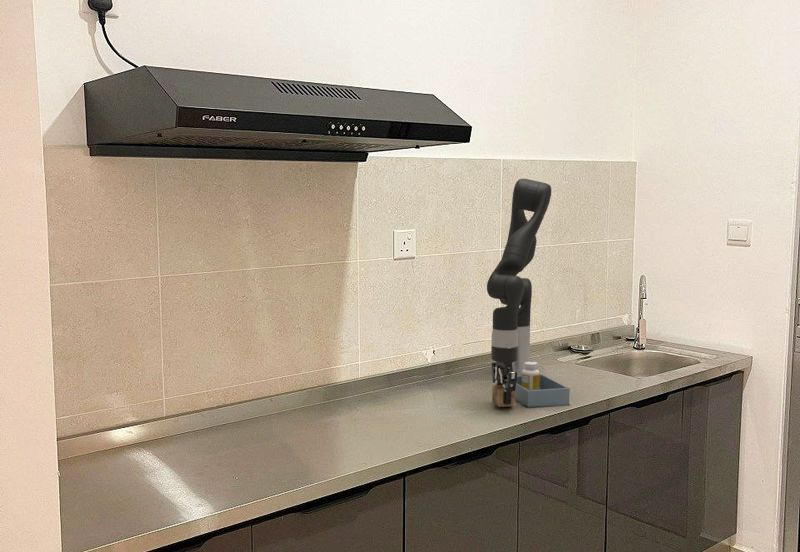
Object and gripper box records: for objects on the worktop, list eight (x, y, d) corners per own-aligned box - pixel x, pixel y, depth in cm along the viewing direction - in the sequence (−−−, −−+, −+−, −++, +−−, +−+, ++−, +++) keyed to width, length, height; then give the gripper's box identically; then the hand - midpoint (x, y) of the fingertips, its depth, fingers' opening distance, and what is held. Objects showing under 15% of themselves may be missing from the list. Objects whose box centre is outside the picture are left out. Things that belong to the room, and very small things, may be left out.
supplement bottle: (538, 391, 238) (539, 361, 237) (539, 396, 233) (540, 365, 232) (521, 391, 239) (521, 360, 238) (521, 395, 234) (522, 364, 232)
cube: (492, 402, 224) (492, 385, 224) (508, 401, 226) (508, 384, 225) (498, 406, 220) (498, 389, 219) (514, 405, 221) (515, 388, 220)
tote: (503, 392, 239) (503, 376, 239) (542, 389, 243) (542, 374, 242) (527, 408, 222) (528, 391, 221) (569, 405, 225) (569, 388, 225)
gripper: (483, 339, 227) (482, 396, 228) (501, 349, 213) (500, 409, 215) (507, 338, 228) (506, 394, 230) (526, 348, 215) (525, 407, 217)
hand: (503, 401), depth 222 cm, fingers closed on cube, 5 cm apart
